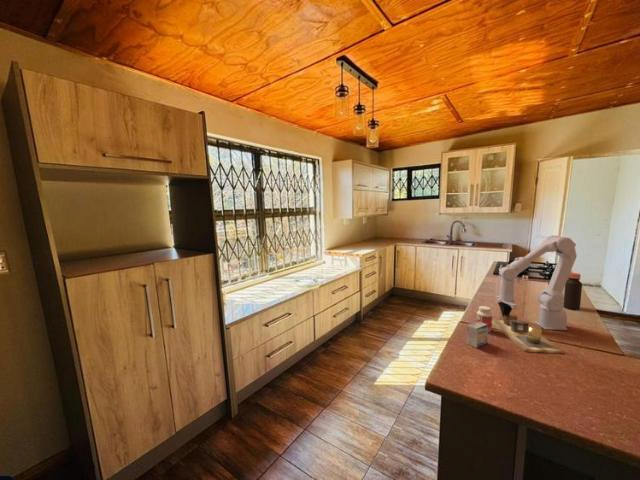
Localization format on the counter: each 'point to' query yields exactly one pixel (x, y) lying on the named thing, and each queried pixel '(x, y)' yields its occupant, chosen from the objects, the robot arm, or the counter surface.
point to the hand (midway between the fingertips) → (505, 317)
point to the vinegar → (573, 292)
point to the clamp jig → (525, 337)
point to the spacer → (534, 334)
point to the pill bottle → (485, 316)
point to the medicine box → (477, 334)
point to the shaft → (512, 318)
